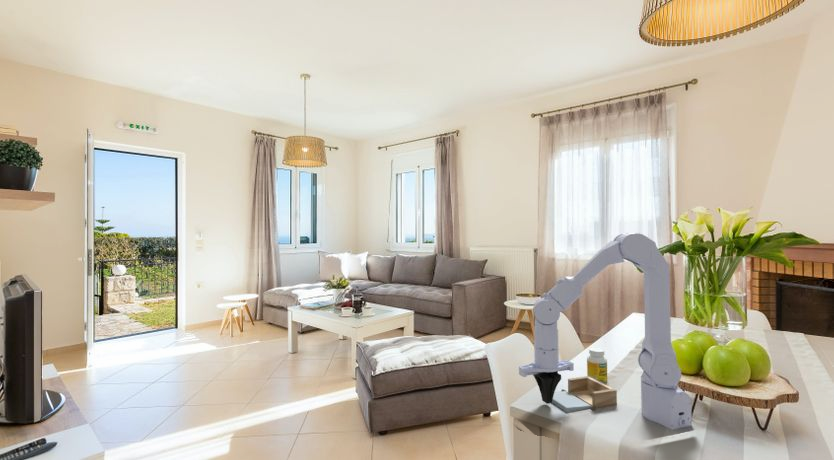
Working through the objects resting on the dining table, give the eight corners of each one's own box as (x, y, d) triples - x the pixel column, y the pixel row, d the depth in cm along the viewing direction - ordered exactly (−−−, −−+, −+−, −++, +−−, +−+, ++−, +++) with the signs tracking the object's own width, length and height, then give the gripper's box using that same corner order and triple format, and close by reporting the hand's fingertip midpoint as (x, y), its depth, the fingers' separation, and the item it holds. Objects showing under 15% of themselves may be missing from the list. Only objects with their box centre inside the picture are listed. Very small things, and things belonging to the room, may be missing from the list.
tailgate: (590, 405, 94) (566, 407, 92) (590, 410, 94) (566, 412, 92) (566, 391, 103) (543, 392, 101) (565, 395, 103) (543, 397, 101)
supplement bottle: (594, 377, 116) (593, 345, 116) (611, 383, 111) (610, 350, 112) (583, 381, 113) (582, 349, 113) (600, 387, 108) (600, 353, 109)
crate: (619, 409, 95) (619, 391, 95) (592, 414, 93) (592, 395, 93) (585, 391, 106) (585, 374, 106) (561, 395, 104) (561, 378, 104)
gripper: (560, 340, 102) (561, 391, 102) (512, 345, 98) (512, 398, 98) (579, 347, 95) (579, 402, 95) (527, 353, 91) (528, 411, 91)
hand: (546, 401), depth 96 cm, fingers closed
